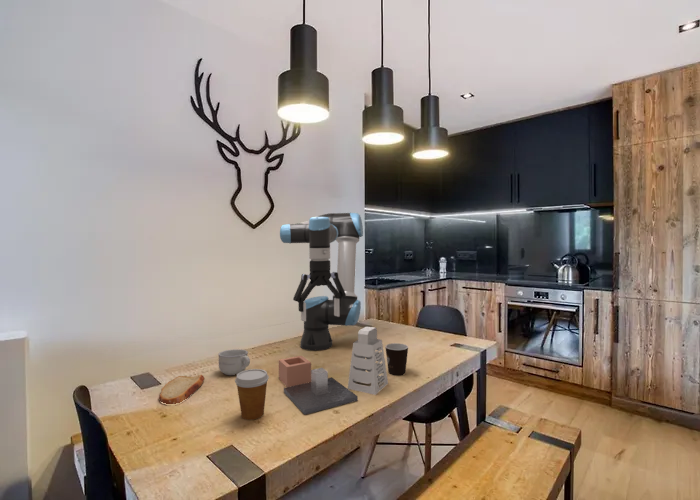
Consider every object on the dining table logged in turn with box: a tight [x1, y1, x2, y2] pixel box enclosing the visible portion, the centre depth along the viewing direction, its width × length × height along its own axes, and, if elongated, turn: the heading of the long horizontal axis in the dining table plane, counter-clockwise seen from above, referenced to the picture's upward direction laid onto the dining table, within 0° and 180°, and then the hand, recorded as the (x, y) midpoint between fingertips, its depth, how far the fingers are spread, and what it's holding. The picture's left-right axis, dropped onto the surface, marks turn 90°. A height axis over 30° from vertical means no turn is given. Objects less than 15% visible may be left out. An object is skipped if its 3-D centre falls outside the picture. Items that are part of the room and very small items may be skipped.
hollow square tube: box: [278, 355, 312, 387], centre depth 133 cm, size 9×9×7 cm
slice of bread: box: [158, 374, 205, 404], centre depth 125 cm, size 18×18×4 cm
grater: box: [347, 326, 389, 396], centre depth 127 cm, size 10×10×20 cm
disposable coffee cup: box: [234, 368, 270, 421], centre depth 107 cm, size 10×10×12 cm
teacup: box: [217, 348, 251, 376], centre depth 140 cm, size 14×11×8 cm
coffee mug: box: [384, 342, 409, 377], centre depth 140 cm, size 12×9×10 cm
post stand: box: [283, 367, 359, 416], centre depth 119 cm, size 18×18×8 cm
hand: (320, 318), depth 133 cm, fingers open, 13 cm apart
